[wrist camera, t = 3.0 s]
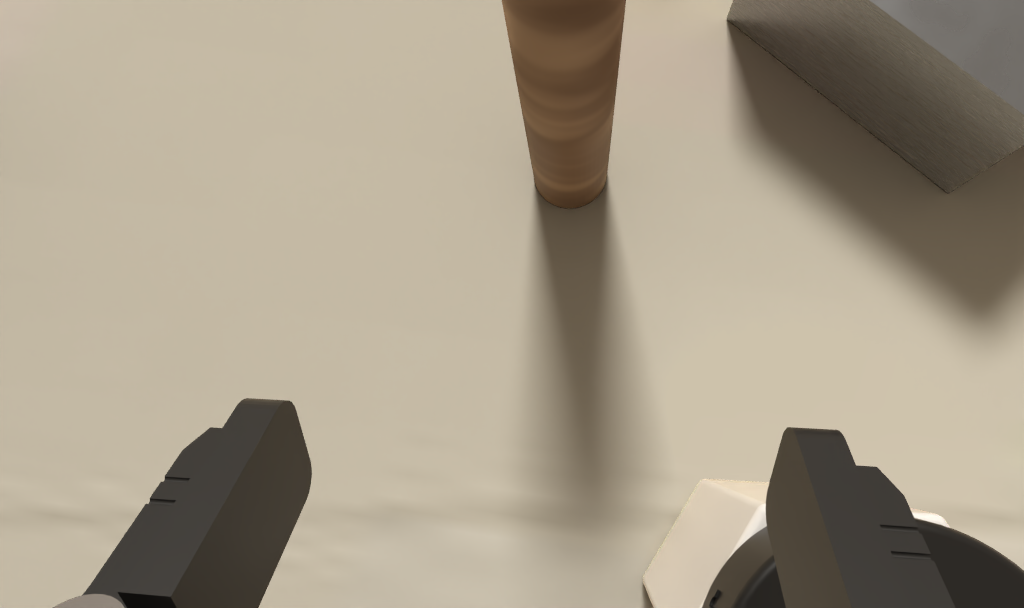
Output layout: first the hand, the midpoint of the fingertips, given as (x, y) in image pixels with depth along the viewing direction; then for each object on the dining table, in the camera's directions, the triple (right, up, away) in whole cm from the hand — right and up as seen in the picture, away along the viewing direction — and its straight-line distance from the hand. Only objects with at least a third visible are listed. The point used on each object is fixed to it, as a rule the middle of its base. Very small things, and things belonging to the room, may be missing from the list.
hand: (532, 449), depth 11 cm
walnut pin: (+2, +8, +18) cm, 20 cm away
